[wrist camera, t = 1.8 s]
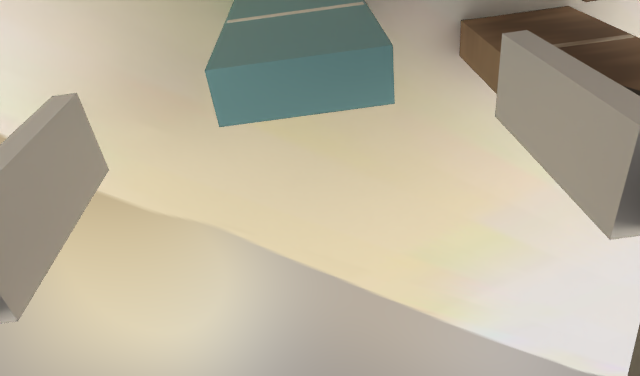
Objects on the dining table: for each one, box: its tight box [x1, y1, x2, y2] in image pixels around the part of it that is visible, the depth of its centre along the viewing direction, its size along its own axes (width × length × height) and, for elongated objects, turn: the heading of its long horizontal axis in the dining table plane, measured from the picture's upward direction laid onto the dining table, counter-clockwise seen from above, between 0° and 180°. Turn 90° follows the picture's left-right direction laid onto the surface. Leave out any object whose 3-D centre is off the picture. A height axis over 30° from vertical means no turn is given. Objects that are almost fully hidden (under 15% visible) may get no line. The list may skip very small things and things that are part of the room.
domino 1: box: [205, 0, 395, 127], centre depth 21 cm, size 6×2×12 cm, turn 97°
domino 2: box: [460, 6, 640, 94], centre depth 22 cm, size 6×2×12 cm, turn 97°
